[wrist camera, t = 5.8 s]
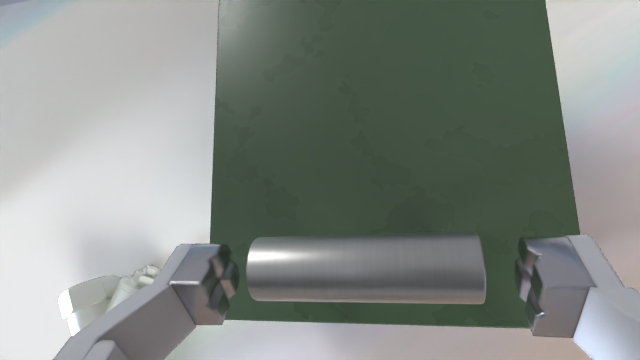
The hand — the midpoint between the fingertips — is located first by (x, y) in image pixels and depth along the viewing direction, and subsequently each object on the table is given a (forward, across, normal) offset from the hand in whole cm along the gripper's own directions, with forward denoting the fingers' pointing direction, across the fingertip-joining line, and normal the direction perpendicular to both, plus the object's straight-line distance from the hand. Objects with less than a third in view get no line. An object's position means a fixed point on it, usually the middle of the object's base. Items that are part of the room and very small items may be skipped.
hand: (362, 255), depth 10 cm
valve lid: (+6, 0, 0) cm, 6 cm away
